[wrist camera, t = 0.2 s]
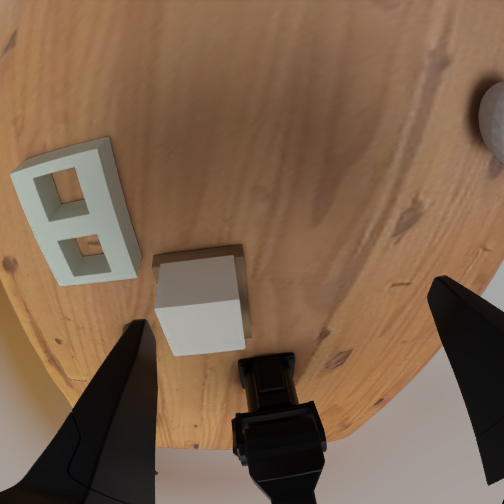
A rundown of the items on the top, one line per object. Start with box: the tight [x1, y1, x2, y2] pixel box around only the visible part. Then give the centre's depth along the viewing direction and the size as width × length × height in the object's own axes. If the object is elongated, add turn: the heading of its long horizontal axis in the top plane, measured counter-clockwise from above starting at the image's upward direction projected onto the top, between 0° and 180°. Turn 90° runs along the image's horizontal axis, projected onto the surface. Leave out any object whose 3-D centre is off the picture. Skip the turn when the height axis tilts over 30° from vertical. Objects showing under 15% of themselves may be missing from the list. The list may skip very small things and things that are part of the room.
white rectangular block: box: [154, 255, 246, 356], centre depth 23 cm, size 6×6×4 cm
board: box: [152, 245, 252, 339], centre depth 26 cm, size 10×7×4 cm
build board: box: [10, 136, 142, 286], centre depth 20 cm, size 10×7×2 cm
